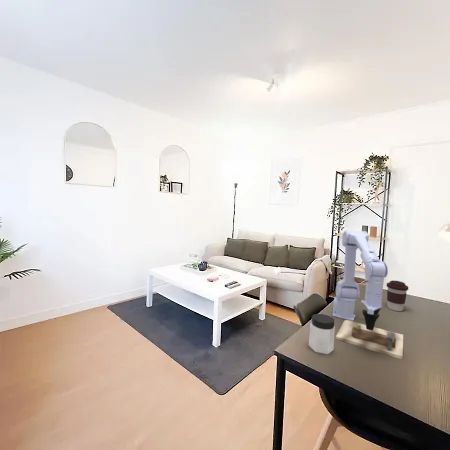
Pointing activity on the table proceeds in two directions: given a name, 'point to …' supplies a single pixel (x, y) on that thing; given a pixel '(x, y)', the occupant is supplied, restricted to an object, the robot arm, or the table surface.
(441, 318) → the table surface
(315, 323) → the jar
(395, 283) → the coffee cup
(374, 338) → the brown long round-headed piece
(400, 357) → the plate
